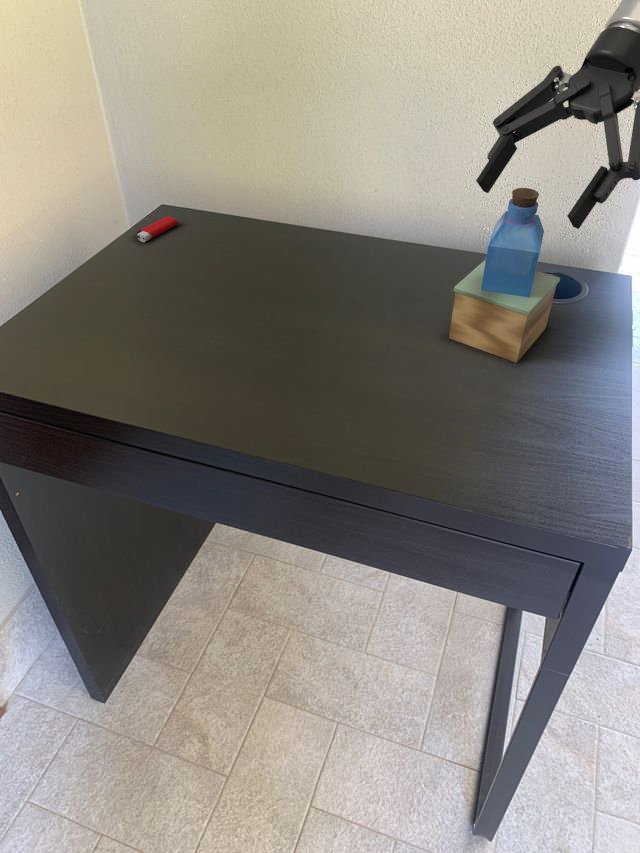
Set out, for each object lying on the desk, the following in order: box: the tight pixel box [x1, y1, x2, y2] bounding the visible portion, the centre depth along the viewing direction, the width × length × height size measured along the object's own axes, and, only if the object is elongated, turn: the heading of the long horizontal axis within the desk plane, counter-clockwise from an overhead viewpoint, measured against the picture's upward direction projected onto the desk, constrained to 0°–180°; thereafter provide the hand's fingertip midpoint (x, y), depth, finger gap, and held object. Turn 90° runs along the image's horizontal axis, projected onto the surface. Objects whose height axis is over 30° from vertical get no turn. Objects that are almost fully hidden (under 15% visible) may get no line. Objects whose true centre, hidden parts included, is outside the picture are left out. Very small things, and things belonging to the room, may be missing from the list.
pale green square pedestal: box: [448, 258, 561, 364], centre depth 92 cm, size 10×10×8 cm
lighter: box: [136, 215, 179, 243], centre depth 119 cm, size 3×1×8 cm
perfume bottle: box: [481, 187, 545, 298], centre depth 86 cm, size 6×6×12 cm
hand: (525, 204), depth 83 cm, fingers open, 13 cm apart
